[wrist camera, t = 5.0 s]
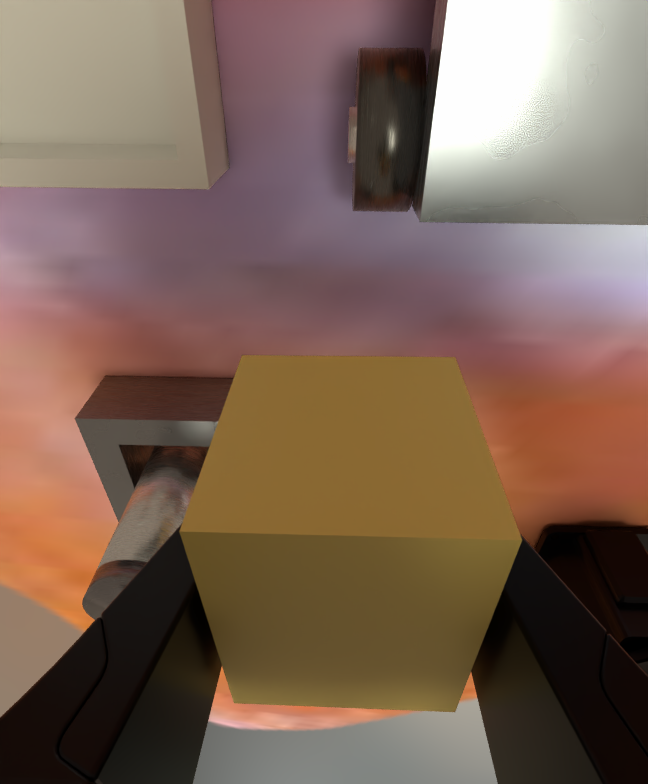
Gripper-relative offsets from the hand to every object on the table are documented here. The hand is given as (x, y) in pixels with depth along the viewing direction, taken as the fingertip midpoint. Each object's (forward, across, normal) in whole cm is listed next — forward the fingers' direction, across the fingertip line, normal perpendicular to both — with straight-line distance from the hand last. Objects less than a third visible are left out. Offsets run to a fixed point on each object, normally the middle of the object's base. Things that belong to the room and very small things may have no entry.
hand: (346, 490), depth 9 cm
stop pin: (+11, +8, +8) cm, 15 cm away
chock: (+1, 0, 0) cm, 1 cm away
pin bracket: (+11, +8, +8) cm, 15 cm away
